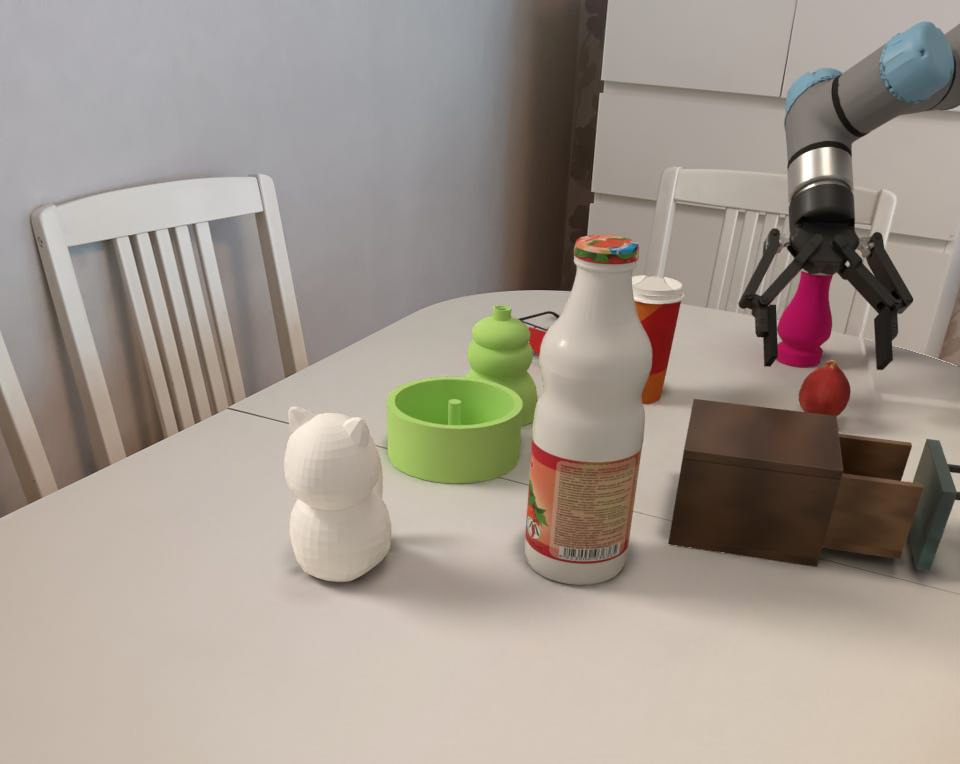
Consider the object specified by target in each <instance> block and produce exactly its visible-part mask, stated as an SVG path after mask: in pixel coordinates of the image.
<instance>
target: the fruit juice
mask: <svg viewBox="0 0 960 764" xmlns="http://www.w3.org/2000/svg"><path fill="white" fill-rule="evenodd" d="M573 257H574V258H573V263H574V265H575V266H576V272H575V277H574V281H573V284H572V288H571V290H570V293H569V296H568V299H567V300H566V304H565V306H564V308H563V310H562V311H561V313H560V315H559V316H560V317H559V318H558V319H557V318H556V320H555V321H554V322H553V323H552V324H551V326H549V328H548V329H547V330H548V331H545V332H546V334H545V336H544V338H543V340H542V343H541V348H540V355H538V363H539V365H538V366H539V371H540V376H541V381H542V390H541V394H539V396H538V398H537V404H536V408H535V413H534V420H533V421H532V430H531V445H530V446H531V447H530V448H531V449H530V462H529V476H528V491H527V492H528V493H527V504H526V505H527V508H526V518H525V519H526V520H525V535H524V555H525V558H526V562H527V563H528V566H529V567H530V568H531V569H532V570H533V571H534V572H536V573H537V574H538V575H540V576H541V577H543V578H546V579H548V580H551V581H554V582H557V583H561V584H566V585H567V584H568V585H574V586H575V585H576V586H587V585H595V584H600V583H603V582H604V583H605V582H606V581H609V580H611V579H613V578H615V577H616V576H618V574H619V573H620V572H621V571H622V570H623V567H624V566H625V563H626V559H627V557H628V550H629V545H630V544H629V543H630V536H631V529H632V524H633V523H632V522H633V514H634V509H635V500H636V494H637V493H636V492H637V487H638V486H637V485H638V478H639V471H640V464H641V458H642V450H643V444H644V437H645V425H646V414H645V407H644V404H643V403H642V398H641V396H642V391H643V389H644V386H645V384H646V382H647V380H648V377H649V374H650V371H651V367H652V347H651V343H650V340H649V338H648V336H647V334H646V332H645V330H644V328H643V326H642V325H641V323H640V320H639V318H638V315H637V311H636V307H635V301H634V295H633V288H632V277H633V271H634V270H635V269H636V267H637V266H638V261H639V258H640V245H639V242H638V241H636V240H634V239H631V238H628V237H624V236H620V235H611V234H591V235H584V236H581V237H579V238H577V239H576V241H575V243H574V249H573Z"/></svg>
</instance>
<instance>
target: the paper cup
mask: <svg viewBox="0 0 960 764" xmlns="http://www.w3.org/2000/svg"><path fill="white" fill-rule="evenodd" d="M632 288H633V295H634V301H635V307H636V311H637V315H638V318H639V320H640V323H641V325H642V326H643V328H644V330H645V332H646V334H647V336H648V338H649V340H650V343H651V347H652V367H651V371H650V374H649V377H648V380H647V382H646V384H645V386H644V389H643V391H642V396H641V398H642V403H643V405H648V404H654V403H657V402H659V401H660V400H661V397H662V393H663V389H664V385H665V380H666V376H667V375H666V374H667V371H668V366H669V362H670V356H671V352H672V347H673V342H674V337H675V334H676V333H675V332H676V327H677V324H678V318H679V314H680V308H681V303H682V301H684V300H685V298H686V297H685V293H684V292H683V291H684V289H683V284H682V282H681V281H679V280H677V279H674V278H671V277H666V276H664V277H661V276H658V275H650V276H647V275H645V274H644V275H643V274H642V275H634V276H633V275H632Z"/></svg>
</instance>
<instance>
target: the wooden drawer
mask: <svg viewBox="0 0 960 764" xmlns="http://www.w3.org/2000/svg"><path fill="white" fill-rule="evenodd" d="M839 441H840V449H841V457H842V464H843V474H842V478H841V482H840V485H839V489H838V493H837V496H836V500H835V504H834V507H833V511H832V515H831V518H830V522H829V526H828V529H827V533H826V536H825V540H824V544H823V547H822V549H829V550H835V551H841V552H842V551H843V552H849V553H856V554H862V555H867V556H868V555H870V556H877V557H882V558H883V557H884V558H891V559H897V560H901V557H902V554H903V552H904V548H905V545H906V542H907V540H909V544H910V547H911V553H912V556H913V557H912V558H913V561H914V566H915V569H916V570H920V571H927V572H930V571H931V568H932V567H933V563H934V560H935V557H936V555H937V552H938V549H939V547H940V545H941V544H940V543H941V541H942V539H943V535H944V532H945V530H946V527H947V524H948V521H949V519H950V515H951V512H952V510H953V507H954V504H955V501H960V491H957V488H956V485H955V482H954V480H953V476H952V473H954V474H960V464H952V463H948V461H947V458H946V455H945V452H944V450H943V446H942V443H941V440H939V439H931V438H926V440H925V442H924V446H923V449H922V452H921V454H920V458H919V462H918V464H917V467H916V470H915V474H914V477H913V480H912V481H906V480H905V481H904V480H902V479H903V476H904V472H905V470H906V467H907V464H908V460H909V457H910V454H911V450H912V447H913V444H912V442H909V441H900V440H893V439H884V438H877V437H871V436H861V435H855V434H854V435H852V434H844V433H839Z"/></svg>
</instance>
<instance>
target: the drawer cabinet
mask: <svg viewBox="0 0 960 764" xmlns="http://www.w3.org/2000/svg"><path fill="white" fill-rule="evenodd" d="M689 416H690V417H689V422H688V427H687V432H686V437H685V442H684V447H683V453H682V459H681V465H680V470H679V471H680V472H679V477H678V482H677V489H676V495H675V501H674V507H673V512H672V519H671V524H670V530H669V537H668V542H667V545H668V544H670V545H669V546H674V545H677V546H676V547H681V546H684V547H683V548H688V547H691V548H690V549H695V548H696V549H695V550H701V549H703V551H708V550H709V552H715V551H716V553H721V552H724V553H723V554H728V553H729V555H734V556H735V555H736V556H741V555H743V557H749V558H755V557H756V559H760V560H761V559H762V560H768V561H769V560H770V561H775V562H782V563H789V564H796V565H803V566H808V567H818V565H819V563H820V558H821V555H822V550H823V548H822V547H823V544H824V540H825V536H826V533H827V529H828V526H829V522H830V518H831V515H832V511H833V507H834V504H835V500H836V496H837V493H838V489H839V485H840V482H841V478H842V474H843V464H842V457H841V449H840V441H839V434H840V433H839V426H838V418H837V417H838V416H832V415H824V414H816V413H808V412H804V411H799V410H790V409H782V408H775V407H773V408H772V407H767V406H766V407H765V406H759V405H758V406H757V405H749V404H741V403H734V402H726V401H716V400H709V399H701V398H700V399H699V398H693V401H692V405H691V411H690V415H689Z"/></svg>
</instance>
